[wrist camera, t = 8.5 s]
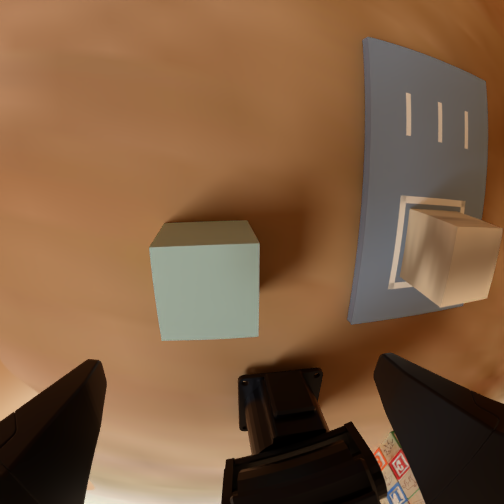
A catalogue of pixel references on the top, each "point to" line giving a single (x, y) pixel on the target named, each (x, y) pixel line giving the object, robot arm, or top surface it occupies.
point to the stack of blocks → (397, 473)
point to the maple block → (450, 256)
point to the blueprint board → (413, 167)
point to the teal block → (206, 280)
